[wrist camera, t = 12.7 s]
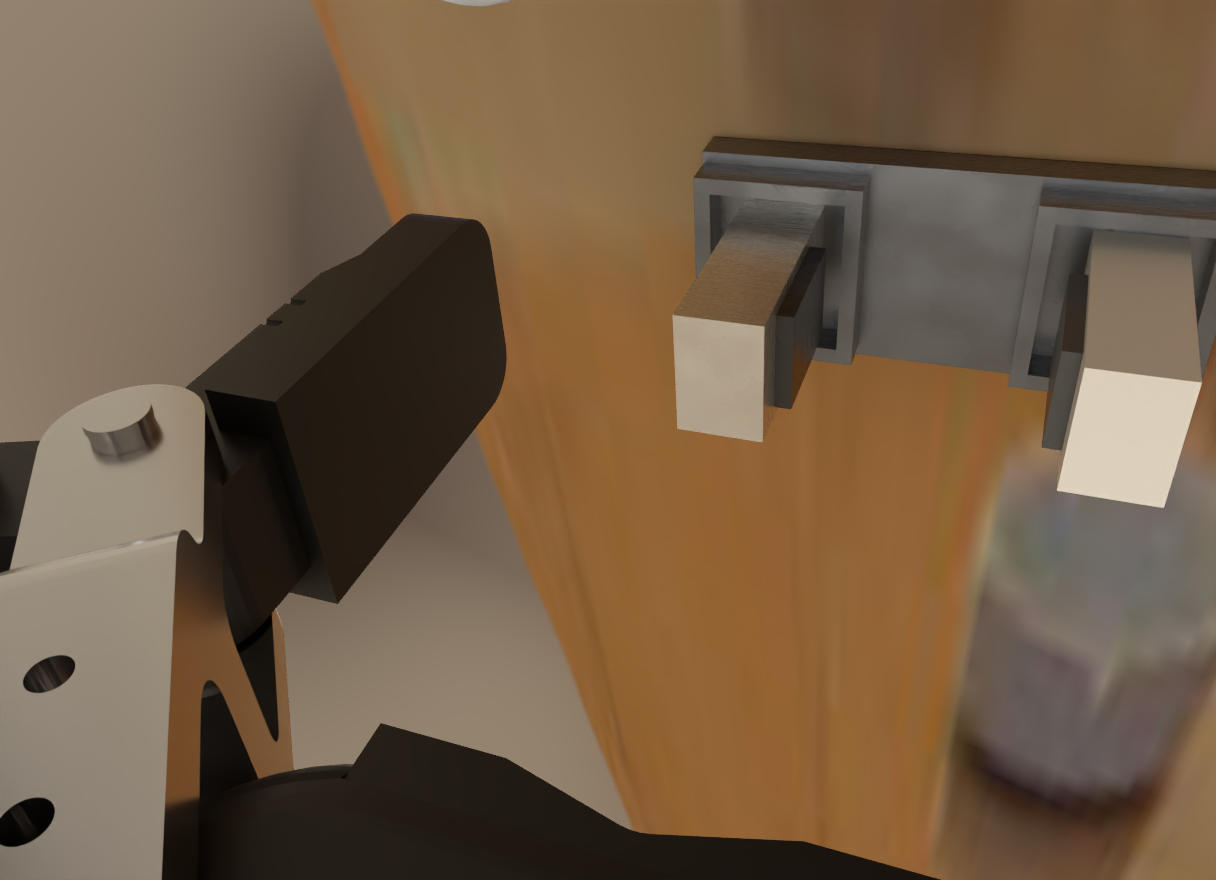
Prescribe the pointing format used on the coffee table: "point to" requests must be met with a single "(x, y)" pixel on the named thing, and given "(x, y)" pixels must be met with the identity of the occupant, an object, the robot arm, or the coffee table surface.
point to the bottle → (477, 2)
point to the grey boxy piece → (900, 264)
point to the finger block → (1124, 369)
